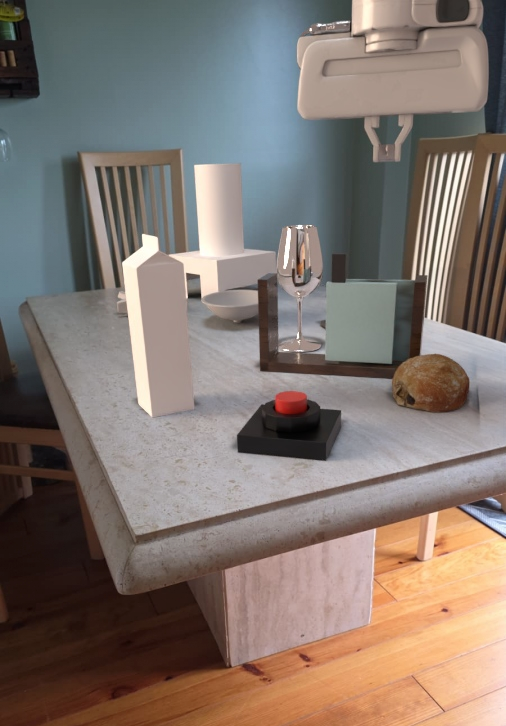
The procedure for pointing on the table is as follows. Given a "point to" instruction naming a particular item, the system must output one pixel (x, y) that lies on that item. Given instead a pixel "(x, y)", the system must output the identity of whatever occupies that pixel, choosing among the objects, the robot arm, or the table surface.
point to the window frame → (404, 348)
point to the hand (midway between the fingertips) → (386, 162)
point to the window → (359, 317)
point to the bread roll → (430, 383)
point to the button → (291, 402)
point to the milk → (159, 329)
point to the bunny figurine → (122, 302)
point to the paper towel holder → (222, 234)
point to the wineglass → (299, 274)
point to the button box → (290, 432)
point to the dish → (233, 304)
